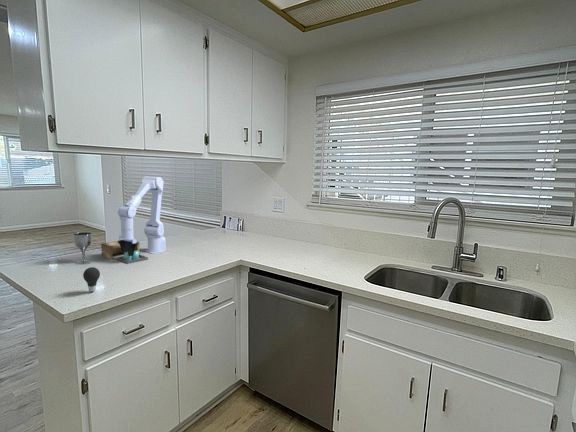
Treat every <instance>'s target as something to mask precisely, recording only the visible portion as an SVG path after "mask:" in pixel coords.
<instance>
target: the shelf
mask: <svg viewBox="0 0 576 432" xmlns="http://www.w3.org/2000/svg"><path fill="white" fill-rule="evenodd" d="M118 241H119V240H117V241H111V242H110V241H109V242H101V245H100V248H101V257H104V258H106V259H108V260H113V255H118V254H123V253H122V249H121V246H120V244H119V243H118ZM137 243H138V244H137V246H136V248H135V251H139V254H140V253H141V251H140V242H139V241H137ZM140 255H141V254H140Z"/></svg>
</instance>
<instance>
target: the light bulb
mask: <svg viewBox="0 0 576 432" xmlns="http://www.w3.org/2000/svg"><path fill="white" fill-rule="evenodd" d="M100 276H101V271H100V270H99V269H98V268H97V267H94V266H91V267H90V266H89V267H88V268H86V269H85V270H84V272H83V274H82V277H83V279H84V281H85V282H86V284H87V286H88V291H89V292H90V293H95V291H96V290H97V283H98V280H99V278H100Z"/></svg>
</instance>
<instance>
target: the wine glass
mask: <svg viewBox="0 0 576 432" xmlns="http://www.w3.org/2000/svg"><path fill="white" fill-rule="evenodd" d="M72 239H73V243H74V245H75V247H77V248H78V249H79V250H80V252H81V256H82V260H80V261H79V260H78V261H76V262H75V265H88V264H91V263H92V261H91V260H88V259H85V257H86V256H85V254H86V251H87V249H88V248H89V247H90V245H91V243H92V239H93V234H92V232H91V231H80V232H74V233H73V234H72Z"/></svg>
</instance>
